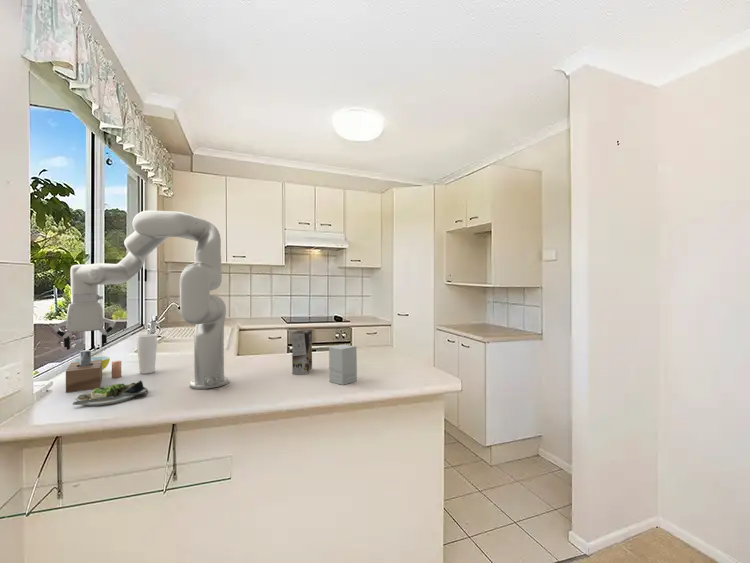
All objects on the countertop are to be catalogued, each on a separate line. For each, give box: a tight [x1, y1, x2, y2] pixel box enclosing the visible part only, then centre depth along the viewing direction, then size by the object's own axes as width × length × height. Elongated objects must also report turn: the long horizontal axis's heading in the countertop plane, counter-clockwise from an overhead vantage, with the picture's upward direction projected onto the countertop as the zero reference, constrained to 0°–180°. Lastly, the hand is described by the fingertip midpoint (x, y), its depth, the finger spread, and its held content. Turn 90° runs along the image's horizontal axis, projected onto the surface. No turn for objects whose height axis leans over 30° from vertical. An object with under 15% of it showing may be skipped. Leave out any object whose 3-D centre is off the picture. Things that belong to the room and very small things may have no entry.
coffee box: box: [291, 329, 313, 375], centre depth 144 cm, size 9×6×16 cm
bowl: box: [72, 356, 111, 371], centre depth 141 cm, size 11×12×6 cm
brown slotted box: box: [65, 359, 103, 393], centre depth 128 cm, size 16×9×7 cm, turn 35°
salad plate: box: [72, 380, 149, 407], centre depth 112 cm, size 19×18×5 cm
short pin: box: [111, 360, 122, 379], centre depth 138 cm, size 3×3×6 cm
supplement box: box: [328, 344, 358, 386], centre depth 130 cm, size 7×7×13 cm
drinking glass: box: [136, 333, 158, 375], centre depth 144 cm, size 7×7×15 cm
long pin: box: [79, 349, 92, 367], centre depth 128 cm, size 3×3×12 cm
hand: (86, 347), depth 128 cm, fingers open, 9 cm apart
